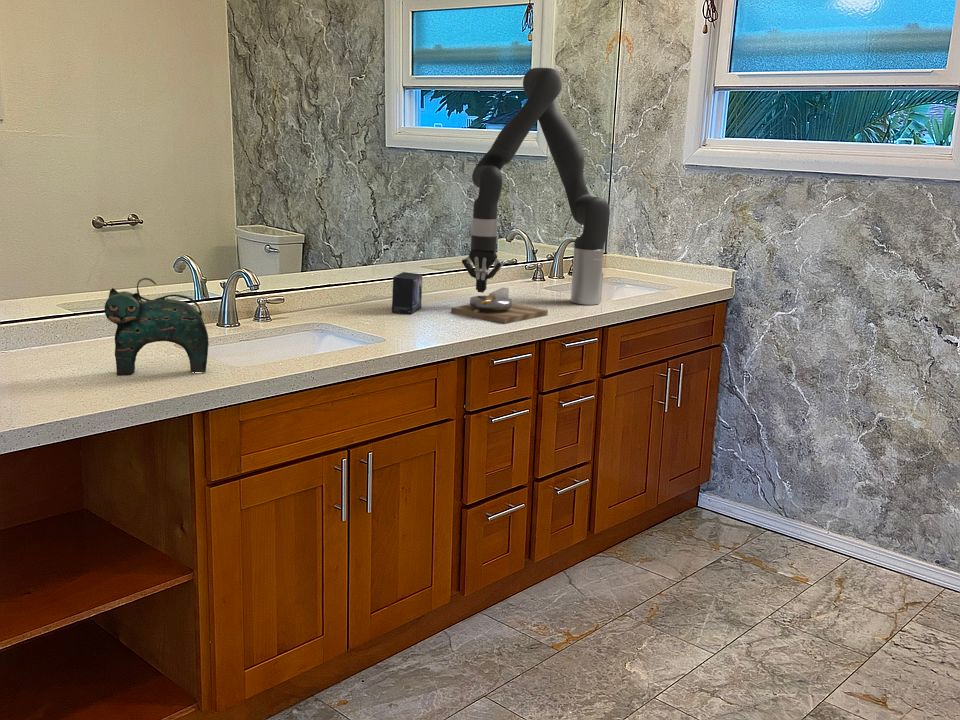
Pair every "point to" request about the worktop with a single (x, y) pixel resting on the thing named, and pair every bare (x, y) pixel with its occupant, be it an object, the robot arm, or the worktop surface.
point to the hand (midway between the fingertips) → (481, 291)
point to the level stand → (501, 313)
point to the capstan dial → (492, 300)
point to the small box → (407, 293)
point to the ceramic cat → (155, 327)
